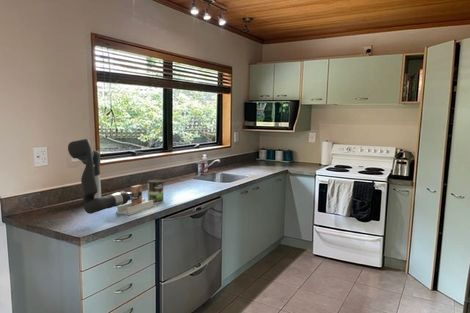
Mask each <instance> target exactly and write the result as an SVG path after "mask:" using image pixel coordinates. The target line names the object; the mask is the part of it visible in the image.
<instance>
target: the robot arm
mask: <svg viewBox="0 0 470 313" xmlns="http://www.w3.org/2000/svg"><path fill="white" fill-rule="evenodd" d="M67 150H68V154H69V155H70V157H71V158H72V159H77V160H79V161H81V162H82V164H83V165H85V167H84V170H83V172H82V175H81V178H80V182H81V187H82V192H83V197H82V203H83V204H82V205H83V206H82V208H83V210H84V211H85V213H86V214H89V215H91V214H95V213H97V212H101V211H103V210H108V209H111V208H115V207H116V208H117V206H120V205H123V204H127V203H129V202H128V201H131V199H135V200H137V199H138V198H139V196H141V195H142V196H143V191H142V192H139V193H131V191H124V190H121V191H119V192H113V193H112V194H111V193H110V194H107V195H105V196H104V195H103V196H102V186H101V155H100V154H101V152H100V151H99V150H93V148H92V144H91V142H90V140H89V139H87V138H84V139H79V140H74V141H70V142H69V143H68V146H67ZM135 194H136V195H135Z"/></svg>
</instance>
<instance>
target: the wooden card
mask: <svg viewBox="0 0 470 313" xmlns="http://www.w3.org/2000/svg"><path fill="white" fill-rule="evenodd" d="M130 192H131V193H139V192H142V193H143V184H136V185H132V186H131V185H130ZM135 195H136V194H135ZM142 199H143V194H142V195H141V196H139V198H138V199H137V200H135V199H131V200H130V202H131V206H134V205H137V204H140V203H142Z"/></svg>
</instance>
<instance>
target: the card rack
mask: <svg viewBox="0 0 470 313" xmlns="http://www.w3.org/2000/svg"><path fill="white" fill-rule="evenodd" d="M155 206H156V205H155V204H153V200H149V201H148V200H147V201H146V198H143V197H142V203H140V204H137V205H134V206H131V201H129V202H127V203H126V204H123V205H120V206H116V208H117V210H116V211H115V212H116V214H121V215H127V216H131V215H133V214H136V213H140V212H142V211H146V210H148V209H150V208H151V209H152V208H155Z"/></svg>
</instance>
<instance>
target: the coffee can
mask: <svg viewBox="0 0 470 313" xmlns="http://www.w3.org/2000/svg"><path fill="white" fill-rule="evenodd" d="M149 200H153V205H155V204H161V203H164V180H163V179H158V178H157V179H156V178H155V179H148V180H147V201H149Z"/></svg>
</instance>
